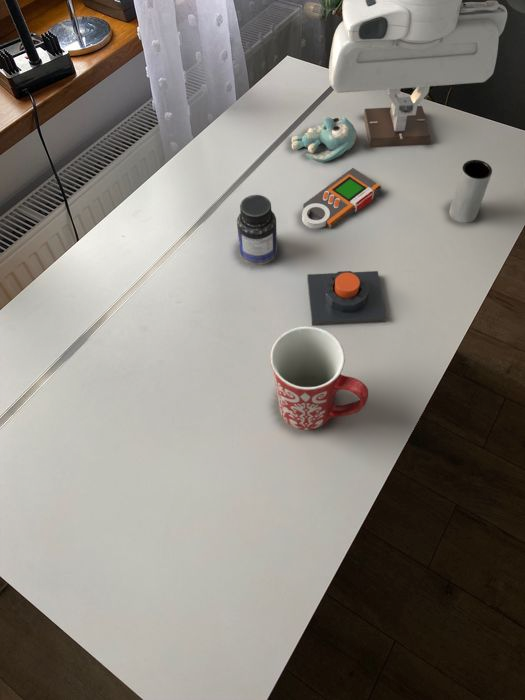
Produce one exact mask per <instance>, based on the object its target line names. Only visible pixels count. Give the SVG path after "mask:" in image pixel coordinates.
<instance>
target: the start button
mask: <svg viewBox="0 0 525 700" xmlns="http://www.w3.org/2000/svg"><path fill="white" fill-rule="evenodd" d="M359 286H360V280H359V278H358V277H357V276H356V275H354V274H352V273H342V274H340V275H339V276H337V278H336V280H335V292H336V294H337V295H338V296H340V297H342V298H346V299H349V298H353V297H355V296H356V295H357V294H358V291H359Z"/></svg>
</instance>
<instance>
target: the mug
mask: <svg viewBox="0 0 525 700" xmlns="http://www.w3.org/2000/svg"><path fill="white" fill-rule="evenodd" d="M345 361H346V355H345V350H344V348H343V345H342V343H341V342H340V341H339V339H338V338H337V337H336V336H335V335H333V334H332V333H331V332H330V331H327V330H325V329H323V328H320V327H317V326H316V327H315V326H298V327H295V328H292V329H289V330H287V331H285V332H284V333H282V334H281V335H280V336H279V337H278V338H277V339H276V340H275V342H274V343H273V345H272V348H271V350H270V356H269V362H270V366H271V369H272V371H273V376H274V383H275V390H276V396H277V402H278V410H279V413H280V416H281V417H282V419H283V421H285V423H286V424H287V425H289V426H291V427H292V428H295V429H297V430H301V431H311V430H316V429H319V428H321V427H322V426H324V425H326V423H327V422H328V421H329V420H330V419H332V418H341V417H347V416H351V415H353V414H357V413H358V412H360V411H362V409H364V407H365V406H366V404H367V402H368V398H369V389H368V387H367V385H366V384H365V383H364V382H363V381H361V380H359V379H357V378H354V377H352V376H347V375H344V374H342V372H343V370H344V367H345ZM339 391H348V392H350V393H352V394H354V395H356V396H357V397H358V399H357V400H356V401H353V402H349V403H345V404H337V403H335V400H336V396H337V393H338V392H339Z"/></svg>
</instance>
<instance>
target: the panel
mask: <svg viewBox="0 0 525 700" xmlns="http://www.w3.org/2000/svg"><path fill="white" fill-rule="evenodd" d="M390 110H391V106H390V107H374V108H364V112H363V123H364V127H365V131H366V136H367V141H368V147H369V148H370V149H371V148H388V147H389V148H390V147H406V146H407V147H408V146H409V147H410V146H427V145H430V141H431V137H432V135H431V131H430V128H429V124H428V121H427V118H426V115H425V111H424V108H423V105H417V110H416V115H407V120H406V125H405V130H404V131H398V132H395V131H394V126H393V122H392V118H391V113H390Z"/></svg>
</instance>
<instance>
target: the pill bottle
mask: <svg viewBox="0 0 525 700" xmlns="http://www.w3.org/2000/svg"><path fill="white" fill-rule="evenodd" d="M239 210H240V211H239V212H240V213H238V216H237V219H236V227H237V235H238V236H237V238H238V248H239V255H240V258H241V259H242V260H243V261H244V262H246V263H247V264H250V265H253V266H261V265H266V264H268V263H270V262H271V261H273V260H274V259H275V257H276V256H277V253H278V241H277V240H278V239H277V238H278V237H277V236H278V235H277V232H278V231H277V217H276V215H275V213H274V211H272V203H271V201H270V199H269V198H267V197H266V196H264V195H261V194H251V195H248V196H246V197H244V198H243V199H242V200H241V202H240V203H239Z"/></svg>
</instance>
